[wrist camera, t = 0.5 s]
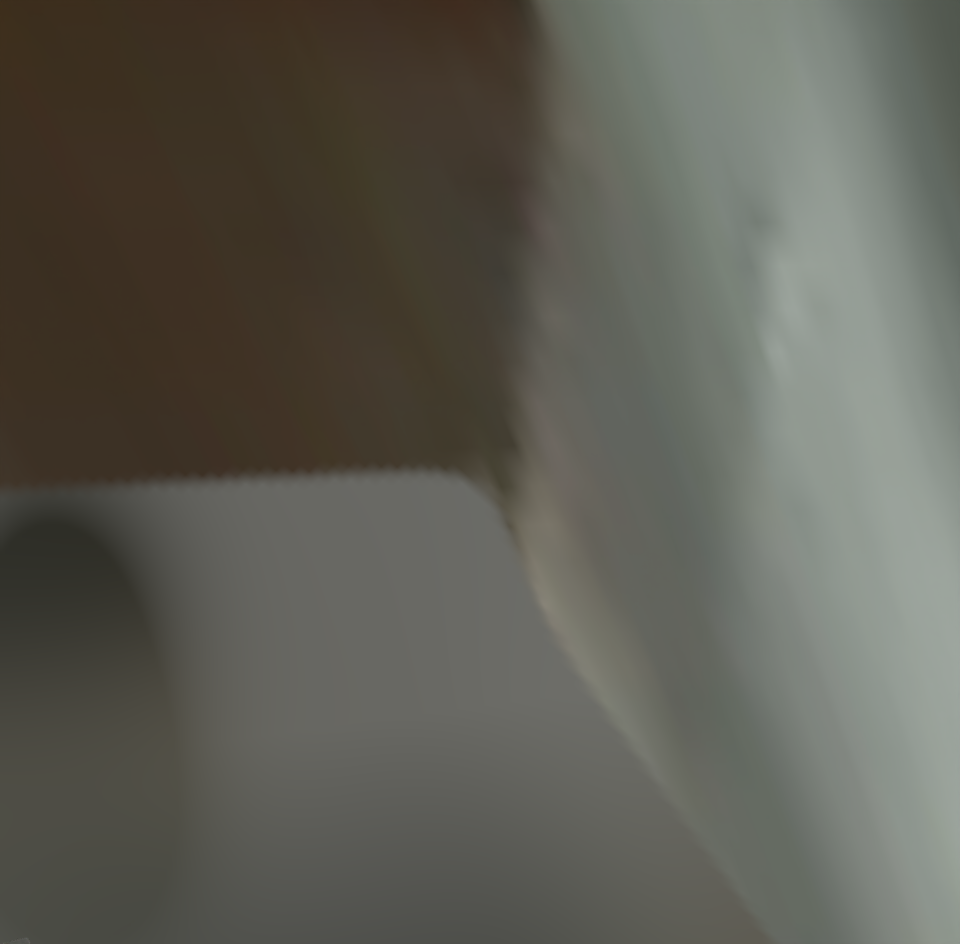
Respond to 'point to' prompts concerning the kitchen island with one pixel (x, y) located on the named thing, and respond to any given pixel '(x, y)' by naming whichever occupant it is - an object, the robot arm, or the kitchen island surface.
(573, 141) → the kitchen island surface
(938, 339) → the kitchen island surface
